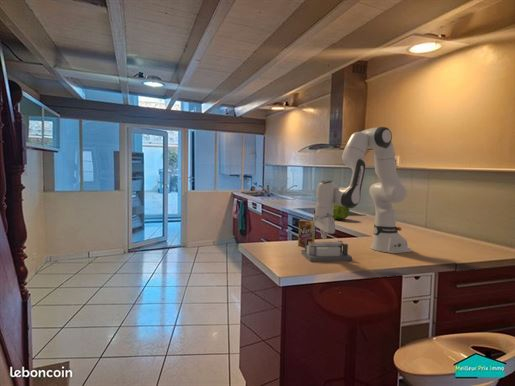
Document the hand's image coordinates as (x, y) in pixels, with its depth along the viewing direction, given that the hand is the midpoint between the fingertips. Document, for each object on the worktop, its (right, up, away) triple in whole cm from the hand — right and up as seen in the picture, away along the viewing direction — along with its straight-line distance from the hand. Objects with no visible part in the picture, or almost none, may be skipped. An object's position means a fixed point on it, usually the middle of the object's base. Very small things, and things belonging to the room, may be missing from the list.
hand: (323, 238), depth 165 cm
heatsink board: (+1, -10, +1) cm, 10 cm away
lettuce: (+39, -1, +129) cm, 135 cm away
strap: (+1, -3, +1) cm, 4 cm away
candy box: (-6, -8, +23) cm, 25 cm away
